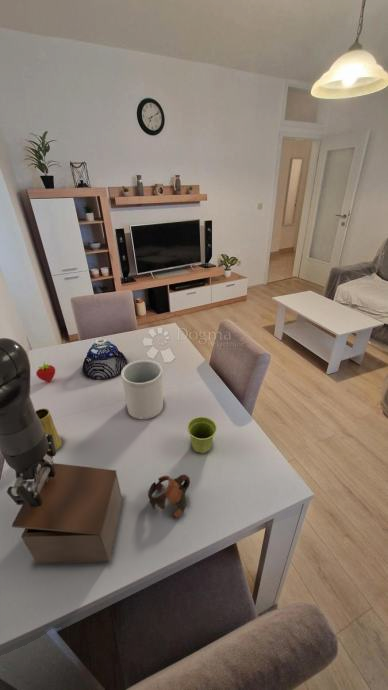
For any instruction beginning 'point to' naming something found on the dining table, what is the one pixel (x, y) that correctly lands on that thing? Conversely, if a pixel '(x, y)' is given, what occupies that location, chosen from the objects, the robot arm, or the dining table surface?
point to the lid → (69, 500)
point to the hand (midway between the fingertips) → (44, 489)
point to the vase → (49, 426)
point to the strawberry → (46, 372)
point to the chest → (77, 539)
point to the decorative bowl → (100, 355)
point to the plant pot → (201, 433)
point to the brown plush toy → (170, 493)
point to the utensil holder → (143, 388)
